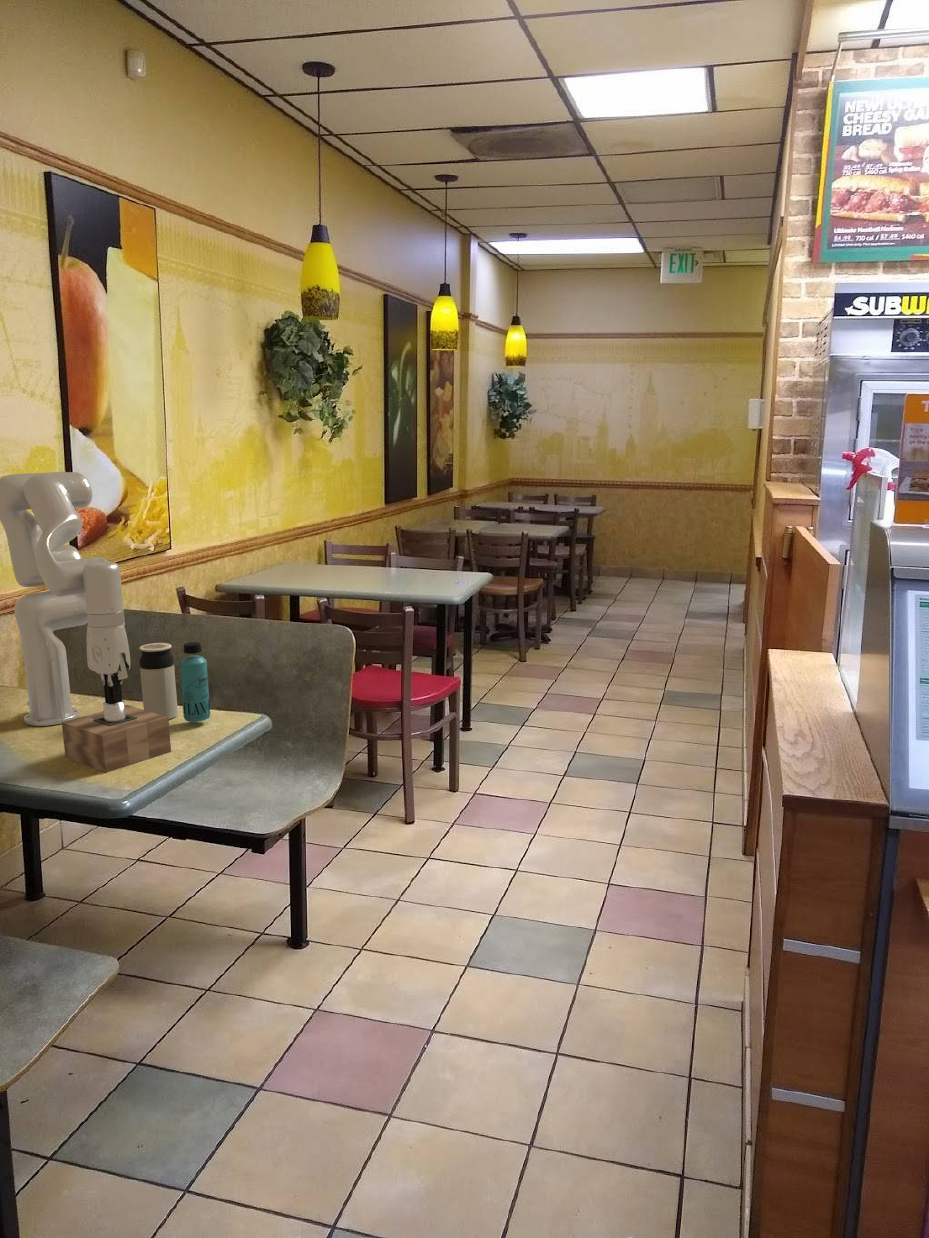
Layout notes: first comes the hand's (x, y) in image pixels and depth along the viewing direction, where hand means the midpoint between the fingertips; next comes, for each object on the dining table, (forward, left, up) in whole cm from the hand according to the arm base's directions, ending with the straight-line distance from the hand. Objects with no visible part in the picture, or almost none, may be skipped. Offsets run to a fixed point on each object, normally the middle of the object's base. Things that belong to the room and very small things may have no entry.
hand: (114, 702), depth 214 cm
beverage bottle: (-4, +24, -12) cm, 27 cm away
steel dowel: (0, 0, -8) cm, 8 cm away
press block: (0, 0, -12) cm, 12 cm away
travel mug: (-16, +22, -12) cm, 30 cm away
